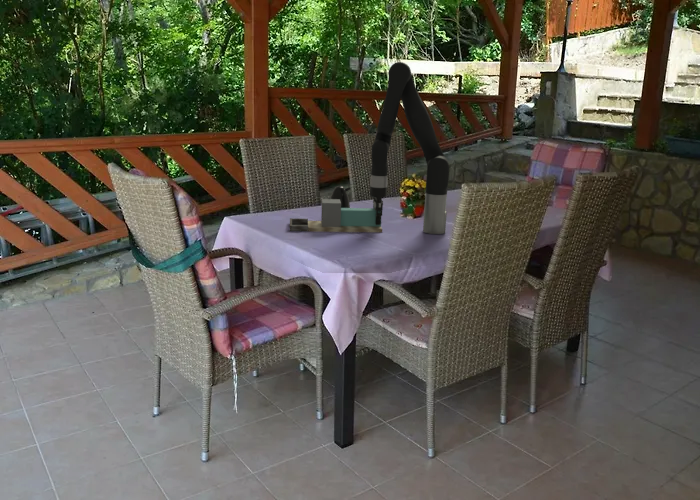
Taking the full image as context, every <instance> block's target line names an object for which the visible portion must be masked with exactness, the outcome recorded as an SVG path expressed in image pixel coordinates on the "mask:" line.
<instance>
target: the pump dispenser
mask: <svg viewBox="0 0 700 500" xmlns="http://www.w3.org/2000/svg"><path fill="white" fill-rule="evenodd" d="M350 190H351V187H349V186H348V187H346V188H345V187H344V186H342V185H338V186H335V187H334V189H333V191H332V193H331V195H330V198H329V199H340V201H341V208H351V204H350V199H349V194H348V191H350Z"/></svg>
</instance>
